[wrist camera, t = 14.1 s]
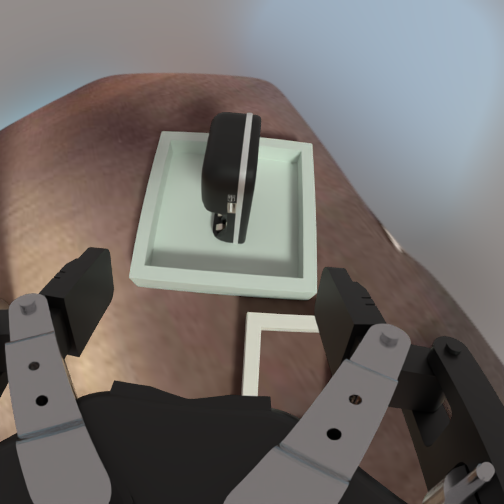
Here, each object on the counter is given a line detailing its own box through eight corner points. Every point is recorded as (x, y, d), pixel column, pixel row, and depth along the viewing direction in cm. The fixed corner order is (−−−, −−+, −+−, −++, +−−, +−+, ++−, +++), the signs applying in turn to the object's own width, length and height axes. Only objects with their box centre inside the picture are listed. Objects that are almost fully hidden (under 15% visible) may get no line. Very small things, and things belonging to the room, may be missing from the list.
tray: (137, 286, 29) (129, 277, 26) (165, 148, 34) (162, 131, 32) (308, 300, 30) (316, 292, 27) (305, 159, 35) (312, 143, 33)
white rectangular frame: (238, 449, 24) (239, 454, 23) (246, 315, 29) (247, 312, 27) (339, 447, 25) (347, 451, 23) (345, 320, 29) (352, 317, 27)
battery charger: (213, 181, 32) (211, 99, 22) (250, 184, 33) (263, 104, 22) (203, 244, 30) (194, 175, 19) (244, 248, 30) (256, 181, 20)
